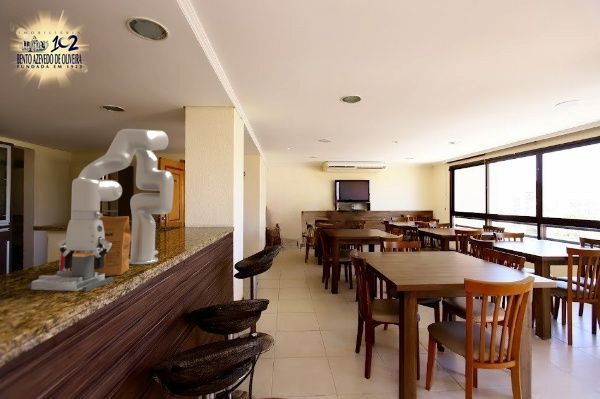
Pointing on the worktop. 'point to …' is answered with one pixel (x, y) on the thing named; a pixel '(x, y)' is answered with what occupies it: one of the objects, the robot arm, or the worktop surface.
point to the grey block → (83, 264)
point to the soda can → (62, 261)
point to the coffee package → (116, 245)
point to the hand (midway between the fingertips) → (84, 268)
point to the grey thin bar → (97, 284)
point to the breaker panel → (65, 281)
